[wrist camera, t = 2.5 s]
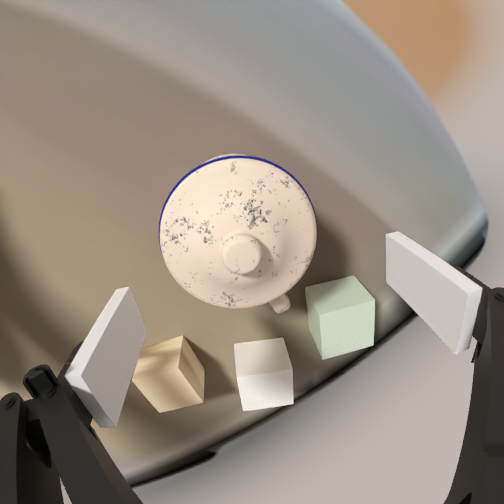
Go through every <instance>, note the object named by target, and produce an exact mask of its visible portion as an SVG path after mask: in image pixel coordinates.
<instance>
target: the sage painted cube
mask: <svg viewBox="0 0 504 504" xmlns="http://www.w3.org/2000/svg"><path fill="white" fill-rule="evenodd" d="M305 295H306V303H307V312H308V321H309V329H310V332H311V334H312V336H313V339H314V341H315V343H316V346H317V348H318V350H319V352H320V355H321V357H322V359H323V360H324V359H327V358H331V357H335V356H338V355H342V354H345V353H349V352H352V351H356V350H359V349H362V348H366V347H369V346H372V345H373V344H374V322H375V299H374V298H373V297H372V296H371V295H370V294H369V292H368V291H367V290H366V289H365V288H364V287H363V286H362V284H361V283H360V282H359V281H358V280H357V279H356V278H355V276H349V277H345V278H341V279H337V280H333V281H329V282H325V283H320V284H316V285H312V286H307V287H305Z"/></svg>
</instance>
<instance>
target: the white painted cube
mask: <svg viewBox="0 0 504 504" xmlns="http://www.w3.org/2000/svg"><path fill="white" fill-rule="evenodd" d="M234 350H235V363H236V375H237V382H238V387H239V392H240V397H241V402H242V408H243V411H249V410H257V409H264V408H271V407H277V406H284V405H290V404H293V368H292V365H291V362H290V358H289V355H288V352H287V349H286V345H285V342H284V339H283V337H282V338H275V339H268V340H261V341H254V342H246V343H238V344H234Z"/></svg>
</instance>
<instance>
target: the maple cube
mask: <svg viewBox="0 0 504 504" xmlns="http://www.w3.org/2000/svg"><path fill="white" fill-rule="evenodd" d="M204 374H205V369H204V367H203V366H202V364H201V363H200V361H199V360H198V358H197V357H196V355H195V353H194V352H193V350H192V349H191V347H190V346H189V344H188V342H187V341H186V339H185V337H184V336H183V335H182V336H179V337H176V338H173V339H170V340H167V341H164V342H161V343H157V344H154V345H151V346H148V347H145V348H142V349H141V352H140V355H139V358H138V361H137V365H136V368H135V371H134V375H133V378H132V381H133V382H134V384H135V385H136V386H137V387H138V388H139V390H140V391H141V392H142V393H143V394H144V396H145V397H146V398H147V399H148V400H149V402H150V403H151V404H152V405H153V406H154V407H155V408H156V410H157V411H158V412H159V413H161V412H165V411H170V410H174V409H179V408H183V407H187V406H191V405H195V404H199V403H203V402H204Z"/></svg>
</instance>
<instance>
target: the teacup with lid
mask: <svg viewBox="0 0 504 504" xmlns="http://www.w3.org/2000/svg"><path fill="white" fill-rule="evenodd" d="M316 239H317V221H316V215H315V211H314V208H313V205H312V202H311V200H310V198H309V196H308V194H307V192H306V191H305V189H304V188H303V187H302V185H301V184H300V183H299V182H298V180H296V179H295V178H294V177H293V176H292V175H291V174H290V173H289V172H287V171H286V170H285V169H283V168H282V167H280V166H278V165H276V164H274V163H272V162H270V161H267V160H265V159H261V158H257V157H252V156H248V155H243V154H225V155H220V156H217V157H214V158H212V159H210V160H208V161H206V162H204V163H203V164H202V165H200V166H198V167H196V168H195V169H193V170H191V171H190V172H189V173H188V174H186V175H185V176H184V177H183V178H182V179H181V180H180V181H179V182H178V183H177V184H176V186H175V187H174V188H173V190H172V191H171V193H170V194H169V196H168V198H167V200H166V202H165V204H164V207H163V209H162V213H161V217H160V222H159V243H160V248H161V253H162V256H163V258H164V261H165V263H166V265H167V267H168V269H169V271H170V273H171V274H172V276H173V277H174V278H175V280H176V281H177V282H178V283H179V284H180V285H181V286H182V287H183V288H184V289H185V290H186V291H187V292H189V293H190V294H191V295H193V296H194V297H196V298H198V299H200V300H202V301H204V302H206V303H208V304H211V305H214V306H218V307H223V308H231V309H243V308H251V307H256V306H260V305H263V304H266V303H269V304H270V306H271V307H272V309H273V310H274V311H275V312H277V313H282V312H284V311H286V310H288V309H289V308H290V301H289V298H288V296H287V294H286V292H287V291H288V290H290V289H291V288H292V287H293V286H294V285H295V284H296V283H297V282H298V281H299V280H300V278H301V277H302V276H303V274H304V273H305V271H306V270H307V268H308V266H309V264H310V262H311V260H312V257H313V254H314V250H315V246H316Z"/></svg>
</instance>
